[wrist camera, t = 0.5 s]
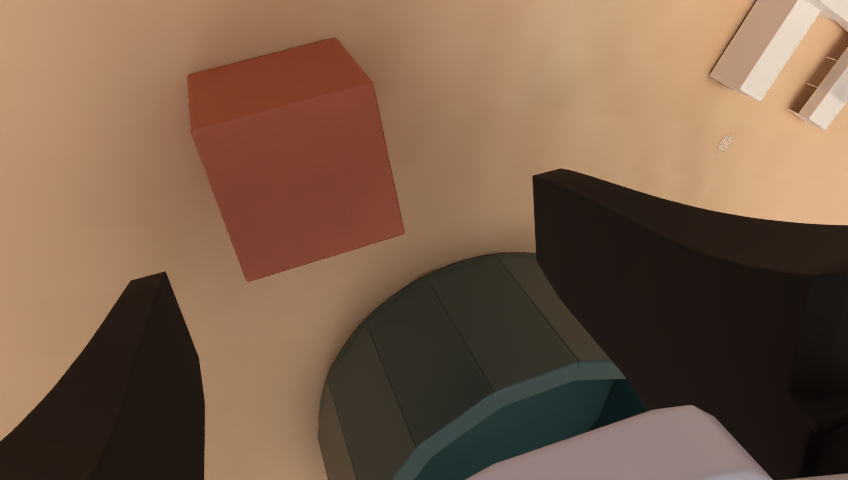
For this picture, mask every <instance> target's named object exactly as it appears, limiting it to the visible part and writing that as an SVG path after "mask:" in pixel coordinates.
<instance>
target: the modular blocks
mask: <svg viewBox="0 0 848 480" xmlns="http://www.w3.org/2000/svg"><path fill="white" fill-rule="evenodd" d="M817 16H820V17H824V18H827V19H831V20H834V21H836V22H837V23H838V24H839V25H840V26H841V27H842V28H844V29H845V30H846V31H847V32H848V0H757V1H756V3H755V4H754V6H753V8H752V9H751V11H750V12H749V14H748V15H747V17H746V19H745V20H744V22H743V23H742V25H741V26H740V28H739V30H738V31H737V33H736V34H735V36H734V37H733V39H732V41H731V42H730V44H729V45H728V47H727V49H726V50H725V52H724V53H723V55H722V56H721V58H720V60H719V61H718V63H717V64H716V66H715V67H714V69H713V71H712V72H711V74H710V75H709V76H710V77H712V78H713V79H715V80H717V81H718V82H720V83H722V84H723V85H725V86H727V87H728V88H730V89H732V90H735V91H737V92H739V93H742V94H744V95H746V96H748V97H751V98H753V99H755V100H757V101H760V102H761V100H762V99H763V97H764V96H765V94H766V93H767V91H768V90H769V88H770V87H771V85H772V84H773V82H774V81H775V79H776V78H777V76H778V75H779V73H780V72H781V70H782V69H783V67H784V66H785V64H786V63H787V61H788V60H789V58H790V57H791V55H792V54H793V52H794V51H795V49H796V48H797V46H798V45H799V43H800V42H801V40H802V39H803V37H804V36H805V34H806V33H807V31H808V30H809V28H810V27H811V25H812V24H813V22H814V21H815V19H816V18H817ZM826 58H829V57H826ZM829 59H832V58H829ZM832 60H835V59H832ZM835 61H837V62H836V63H835V65H834V66H833V67H832V69H831V70H830V71H829V73H828V74H827V76H826V77H825V78H824V80H823V81H822V82H821V84H820V85H819V86H818V87H816V86H814V85H811V84H808V83H807V84H808V85H811V86H814V87H816V88H817V89H816V90H815V92H814V93H813V94H812V96H811V97H810V98H809V100H808V101H807V103H806V104H805V105H804V107H803V108H802V109H801V111H800V112H799V113H797V112H794V111H792V110H790V109H788V110H789V111H791V112H792V113H793V114H795V115H796V116H798V117H799V118H800V119H802V120H803V121H805V122H807V123H810V124H812V125H814V126H816V127H819V128H821V129H823V130H826V129H827V128H828V126H829V125H830V124H831V122H832V121H833V120H834V118H835V117H836V116H837V114H838V113H839V112H840V110H841V109H842V108H843V106H844V105H845V104H846V103H847V101H848V47H847V49H846V50H845V51H844V53H843V54H842V55H841V57H840V58H839V59H838V60H835ZM735 134H736V133H735ZM727 136H728V135H727ZM725 137H726V136H725ZM728 137H730V136H728ZM726 138H727V137H726ZM730 138H731V137H730ZM723 139H725V138H723ZM727 139H729V138H727ZM731 139H733V138H731ZM725 140H726V139H725ZM729 140H730V139H729ZM722 141H724V140H722ZM726 141H728V140H726ZM731 141H732V140H731ZM724 142H725V141H724ZM728 142H730V141H728ZM721 143H723V142H721ZM725 143H727V142H725ZM730 143H731V142H730ZM723 144H724V143H723ZM727 144H729V143H727ZM720 145H722V144H720ZM724 145H726V144H724ZM722 146H723V145H722ZM726 146H728V145H726ZM719 147H721V146H719ZM724 147H725V146H724ZM717 148H718V147H717ZM721 148H723V147H721ZM725 148H727V147H725ZM718 149H720V148H718ZM723 149H724V148H723ZM720 150H722V149H720ZM724 150H726V149H724ZM722 151H723V150H722ZM723 152H725V151H723Z"/></svg>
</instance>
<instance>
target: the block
mask: <svg viewBox="0 0 848 480" xmlns="http://www.w3.org/2000/svg"><path fill="white" fill-rule="evenodd" d="M187 79H188V95H189V110H190V125H191V133H192V136H193V139H194V142H195V144H196V147H197V150H198V152H199V155H200V158H201V160H202V163H203V166H204V169H205V171H206V174H207V177H208V179H209V182H210V185H211V187H212V190H213V193H214V196H215V198H216V201H217V204H218V206H219V209H220V212H221V215H222V217H223V220H224V223H225V225H226V228H227V231H228V233H229V236H230V239H231V242H232V244H233V247H234V250H235V252H236V255H237V258H238V260H239V263H240V266H241V269H242V271H243V274H244V277H245V279H246V281H247V282H250V281H253V280H257V279H260V278H263V277H266V276H270V275H273V274H276V273H279V272H283V271H286V270H289V269H292V268H296V267H299V266H302V265H305V264H308V263H312V262H315V261H318V260H321V259H325V258H328V257H331V256H334V255H338V254H341V253H344V252H347V251H351V250H354V249H357V248H360V247H364V246H367V245H370V244H373V243H377V242H380V241H383V240H386V239H390V238H393V237H396V236H399V235H403V234H404V226H403V222H402V217H401V212H400V207H399V203H398V198H397V193H396V189H395V184H394V179H393V174H392V170H391V165H390V160H389V156H388V151H387V146H386V141H385V137H384V132H383V127H382V123H381V118H380V113H379V108H378V104H377V99H376V94H375V90H374V85H373V82H372V81H371V80H370V78H369V77H368V76H367V75H366V74H365V73H364V71H363V70H362V69H361V68H360V67H359V65H358V64H357V63H356V62H355V61H354V59H353V58H352V57H351V56H350V55H349V53H348V52H347V51H346V50H345V49H344V47H343V46H342V45H341V44H340V43H339V41H338V40H337V39H336V38H332V39H328V40H324V41H320V42H316V43H312V44H308V45H304V46H300V47H296V48H292V49H288V50H284V51H280V52H276V53H272V54H269V55H265V56H261V57H257V58H253V59H249V60H245V61H241V62H237V63H233V64H229V65H225V66H221V67H217V68H213V69H209V70H205V71H201V72H198V73H194V74H190V75H188V77H187Z"/></svg>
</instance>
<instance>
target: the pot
mask: <svg viewBox="0 0 848 480" xmlns="http://www.w3.org/2000/svg"><path fill="white" fill-rule="evenodd" d="M647 411H648V409H647V408H646V406H645V405H644V403H643V402H642V400H641V399H640V397H639V396H638V394H637V393H636V391H635V390H634V388H633V387H632V386H631V384H630V383H629V382H628V380H627V379H626V378H625V376H624V375H623V374H622V373H621V371H620V370H619V369H618V368H617V366H616V365H615V364H614V363H613V362H612V361H611V359H610V358H609V357H608V356H607V355H606V353H605V352H604V351H603V350H602V349H601V348H600V346H599V345H598V344H597V343H596V342H595V341H594V339H593V338H592V337H591V336H590V335H589V333H588V332H587V331H586V330H585V329H584V328H583V326H582V325H581V324H580V323H579V322H578V320H577V319H576V318H575V317H574V316H573V314H572V313H571V312H570V311H569V310H568V308H567V307H566V306H565V305H564V303H563V302H562V301H561V300H560V299H559V297H558V296H557V294H556V293H555V291H554V289H553V288H552V286H551V285H550V283H549V281H548V280H547V278H546V276H545V275H544V273H543V271H542V269H541V268H540V266H539V264H538V263H537V260H536V254H530V253H501V254H494V255H487V256H480V257H477V258H473V259H469V260H465V261H461V262H458V263H455V264H452V265H450V266H447V267H445V268H442V269H439V270H437V271H435V272H433V273H431V274H429V275H427V276H425V277H423V278H421V279H419V280H417V281H415V282H413V283H412V284H410V285H409V286H407V287H406V288H404V289H402V290H401V291H399V292H398V293H396V294H395V295H393V296H392V297H391V298H390V299H388V300H387V301H386V302H385V303H384V304H382V305H381V306H380V307H379V308H377V309H376V310H375V311H374V312H373V313H372V314H371V315H370V316H369V317H368V318H367V319H366V320H365V321H364V322H363V323H362V324H361V325H360V326H359V327H358V329H357V330H356V331H355V332H354V334H353V335H352V336H351V338H350V339H349V340H348V341H347V343H346V344H345V345H344V347H343V349H342V350H341V352H340V354H339V355H338V357H337V359H336V360H335V362H334V364H333V366H332V369H331V371H330V373H329V376H328V378H327V380H326V383H325V386H324V390H323V394H322V397H321V402H320V411H319V431H318V440H319V444H320V448H321V452H322V456H323V461H324V465H325V469H326V473H327V477H328V480H465V479H467V478H469V477H471V476H473V475H474V474H476V473H478V472H480V471H482V470H484V469H485V468H487V467H489V466H491V465H493V464H495V463H498V462H501V461H504V460H507V459H510V458H513V457H516V456H519V455H522V454H524V453H527V452H530V451H533V450H536V449H539V448H542V447H545V446H548V445H551V444H554V443H557V442H560V441H563V440H565V439H568V438H571V437H574V436H577V435H580V434H583V433H586V432H589V431H592V430H595V429H598V428H601V427H604V426H606V425H609V424H612V423H615V422H618V421H621V420H624V419H627V418H630V417H633V416H636V415H639V414H642V413H645V412H647Z"/></svg>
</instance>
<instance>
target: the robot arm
mask: <svg viewBox="0 0 848 480" xmlns="http://www.w3.org/2000/svg"><path fill="white" fill-rule="evenodd" d="M533 197H534V218H535V239H536V260H537V263H538V264H539V266H540V268H541V269H542V271H543V273H544V275H545V276H546V278H547V280H548V281H549V283H550V285H551V286H552V288H553V289H554V291H555V293H556V294H557V296H558V297H559V299H560V300H561V301H562V302H563V303H564V305H565V306H566V307H567V308H568V310H569V311H570V312H571V313H572V314H573V316H574V317H575V318H576V319H577V320H578V322H579V323H580V324H581V325H582V326H583V328H584V329H585V330H586V331H587V332H588V333H589V335H590V336H591V337H592V338H593V339H594V341H595V342H596V343H597V344H598V345H599V346H600V348H601V349H602V350H603V351H604V352H605V353H606V355H607V356H608V357H609V358H610V359H611V361H612V362H613V363H614V364H615V365H616V366H617V368H618V369H619V370H620V371H621V373H622V374H623V375H624V376H625V378H626V379H627V380H628V382H629V383H630V384H631V386H632V387H633V388H634V390H635V391H636V393H637V394H638V396H639V397H640V399H641V400H642V402H643V403H644V405H645V406H646V408H647V409H648V411H647V412H645V413H642V414H639V415H636V416H633V417H630V418H627V419H624V420H621V421H618V422H615V423H612V424H609V425H606V426H604V427H601V428H598V429H595V430H592V431H589V432H586V433H583V434H580V435H577V436H574V437H571V438H568V439H565V440H563V441H560V442H557V443H554V444H551V445H548V446H545V447H542V448H539V449H536V450H533V451H530V452H527V453H524V454H522V455H519V456H516V457H513V458H510V459H507V460H504V461H501V462H498V463H495V464H493V465H491V466H489V467H487V468H485V469H484V470H482V471H480V472H478V473H476V474H474V475H473V476H471V477H469V478H467V479H465V480H848V225H821V224H805V223H794V222H784V221H774V220H765V219H757V218H750V217H744V216H738V215H732V214H727V213H721V212H716V211H711V210H706V209H701V208H697V207H693V206H689V205H685V204H681V203H677V202H673V201H669V200H666V199H662V198H659V197H655V196H652V195H648V194H645V193H642V192H638V191H635V190H632V189H629V188H626V187H623V186H620V185H616V184H613V183H610V182H607V181H604V180H601V179H598V178H595V177H591V176H588V175H585V174H582V173H578V172H574V171H570V170H566V169H557V170H553V171H549V172H545V173H541V174H538V175H534V176H533ZM204 446H205V401H204V393H203V385H202V377H201V370H200V363H199V357H198V354H197V352H196V349H195V347H194V344H193V341H192V339H191V336H190V334H189V331H188V328H187V326H186V323H185V321H184V318H183V315H182V313H181V310H180V308H179V305H178V303H177V300H176V297H175V295H174V292H173V290H172V287H171V284H170V282H169V279H168V277H167V274H166V271H165V272H162V273H158V274H154V275H150V276H146V277H142V278H139V279H135V280H131V281H130V283H129V284H128V285H127V287H126V288H125V290H124V291H123V293H122V294H121V296H120V297H119V299H118V300H117V302H116V303H115V305H114V306H113V308H112V309H111V311H110V312H109V314H108V315H107V317H106V318H105V320H104V321H103V323H102V324H101V326H100V327H99V329H98V330H97V332H96V333H95V334H94V336H93V337H92V339H91V340H90V342H89V343H88V344H87V346H86V347H85V348H84V350H83V351H82V352H81V354H80V355H79V356H78V357H77V359H76V360H75V361H74V362H73V364H72V365H71V366H70V367H69V369H68V370H67V371H66V373H65V374H64V375H63V376H62V378H61V379H60V380H59V381H58V383H57V384H56V385H55V386H54V387H53V389H52V390H51V391H50V392H49V393H48V394H47V395H46V396H45V398H44V399H43V400H42V401H41V402H40V403H39V404H38V405H37V406H36V407H35V408H34V409H33V410H32V411H31V412H30V413H29V414H28V415H27V417H26V418H25V419H24V420H23V421H22V422H21V423H20V424H19V425H18V426H17V427H16V428H15V429H14V430H13V431H12V432H10V433H9V434H8V435H7V436H6V437H5V438H4V439H3V440H1V441H0V480H204Z"/></svg>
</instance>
